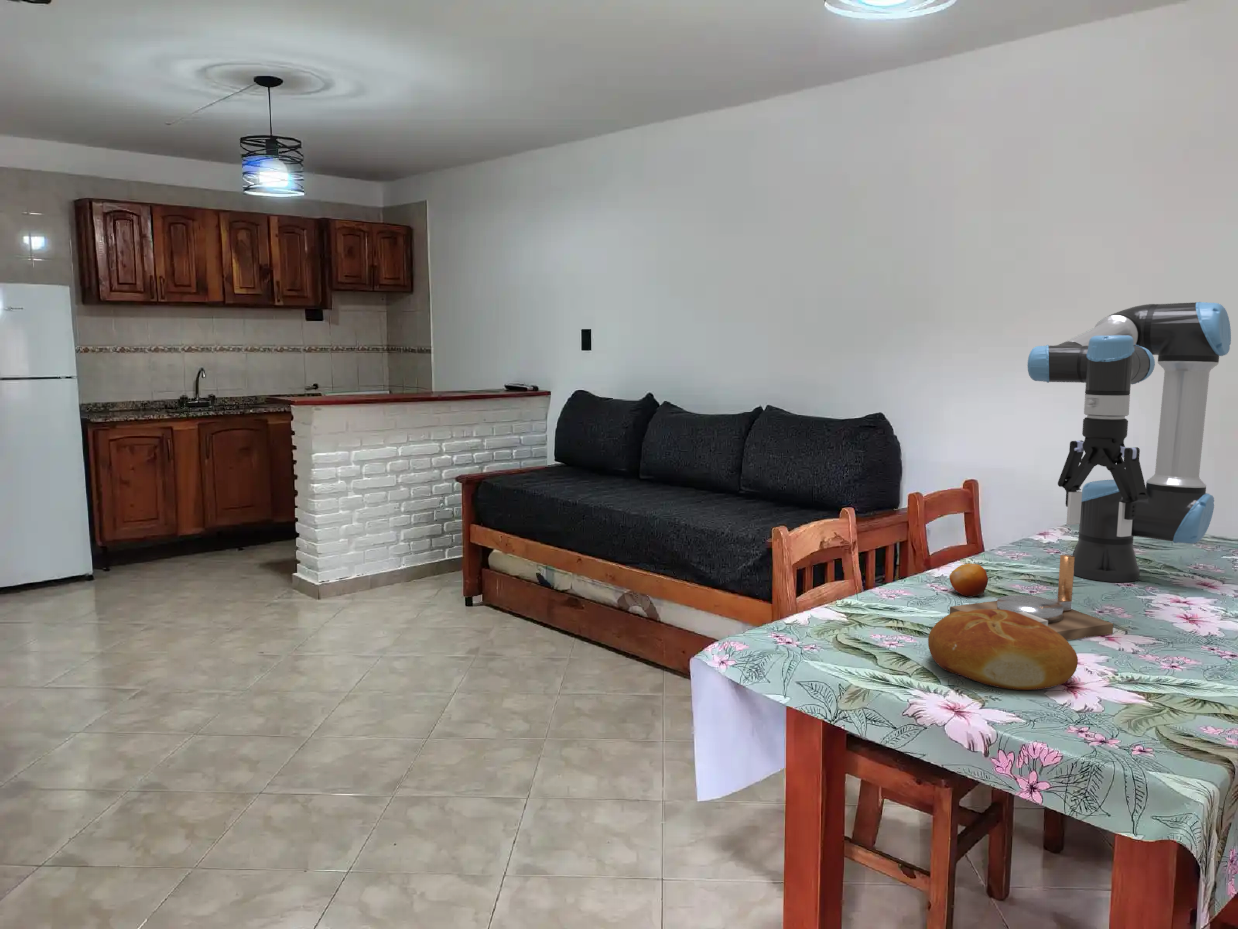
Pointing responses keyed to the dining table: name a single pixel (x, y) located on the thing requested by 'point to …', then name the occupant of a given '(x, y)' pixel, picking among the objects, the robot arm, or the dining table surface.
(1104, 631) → the board
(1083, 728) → the dining table surface
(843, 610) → the dining table surface
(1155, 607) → the dining table surface
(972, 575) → the fruit
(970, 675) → the bread
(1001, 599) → the cam disc
